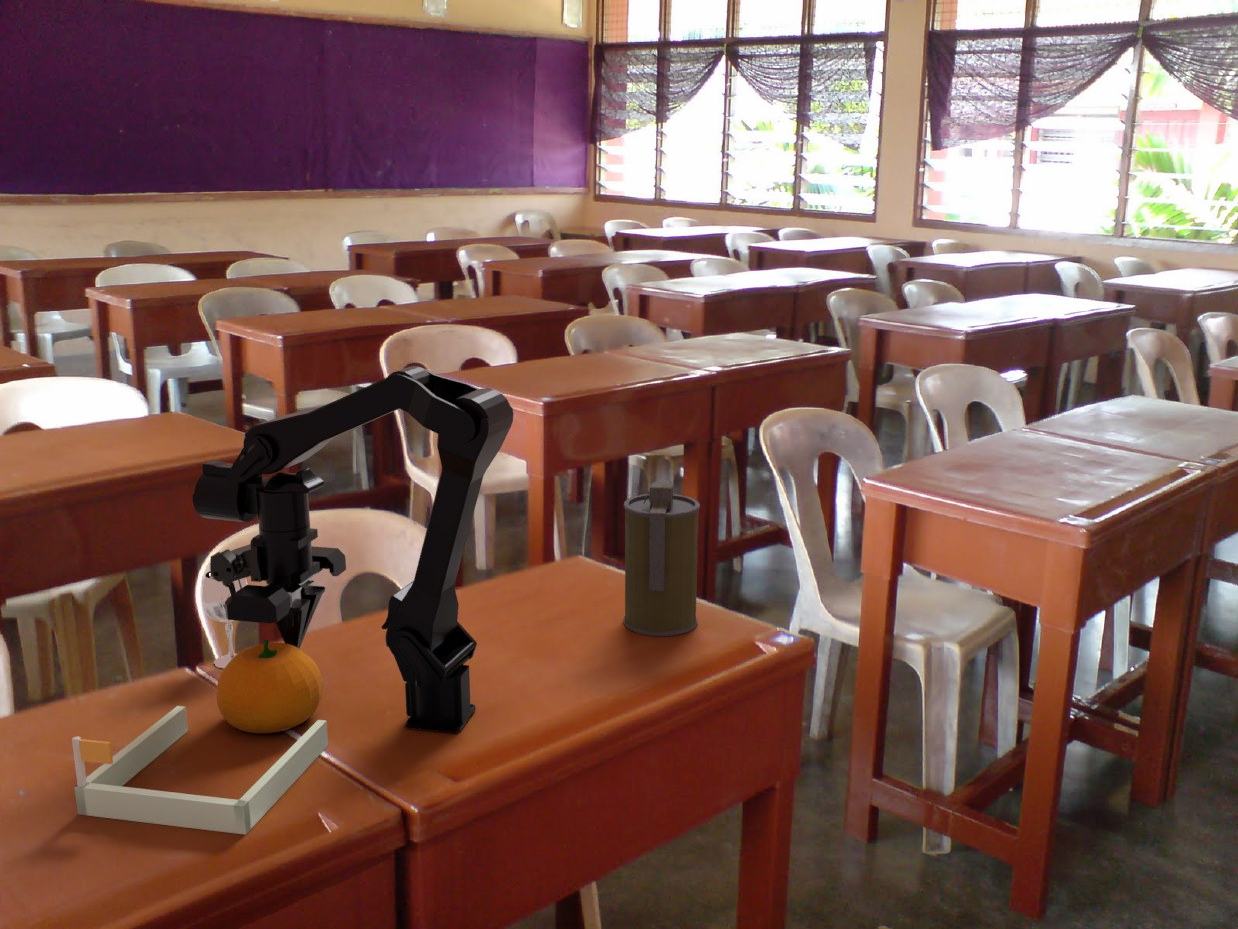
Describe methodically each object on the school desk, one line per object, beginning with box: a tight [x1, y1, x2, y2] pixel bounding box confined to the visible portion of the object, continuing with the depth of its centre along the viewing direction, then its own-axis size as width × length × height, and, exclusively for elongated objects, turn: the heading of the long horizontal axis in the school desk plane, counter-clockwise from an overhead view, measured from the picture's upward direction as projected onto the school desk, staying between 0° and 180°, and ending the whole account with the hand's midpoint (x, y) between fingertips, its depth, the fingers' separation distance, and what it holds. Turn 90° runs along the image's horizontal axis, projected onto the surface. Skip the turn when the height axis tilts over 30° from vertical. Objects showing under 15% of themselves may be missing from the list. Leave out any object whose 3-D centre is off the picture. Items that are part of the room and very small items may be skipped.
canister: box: [622, 480, 701, 637], centre depth 160 cm, size 11×10×20 cm
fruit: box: [216, 640, 324, 734], centre depth 132 cm, size 12×12×10 cm
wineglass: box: [201, 570, 249, 669], centre depth 148 cm, size 6×6×12 cm
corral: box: [71, 705, 329, 836], centre depth 120 cm, size 18×18×8 cm
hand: (293, 650), depth 138 cm, fingers closed
